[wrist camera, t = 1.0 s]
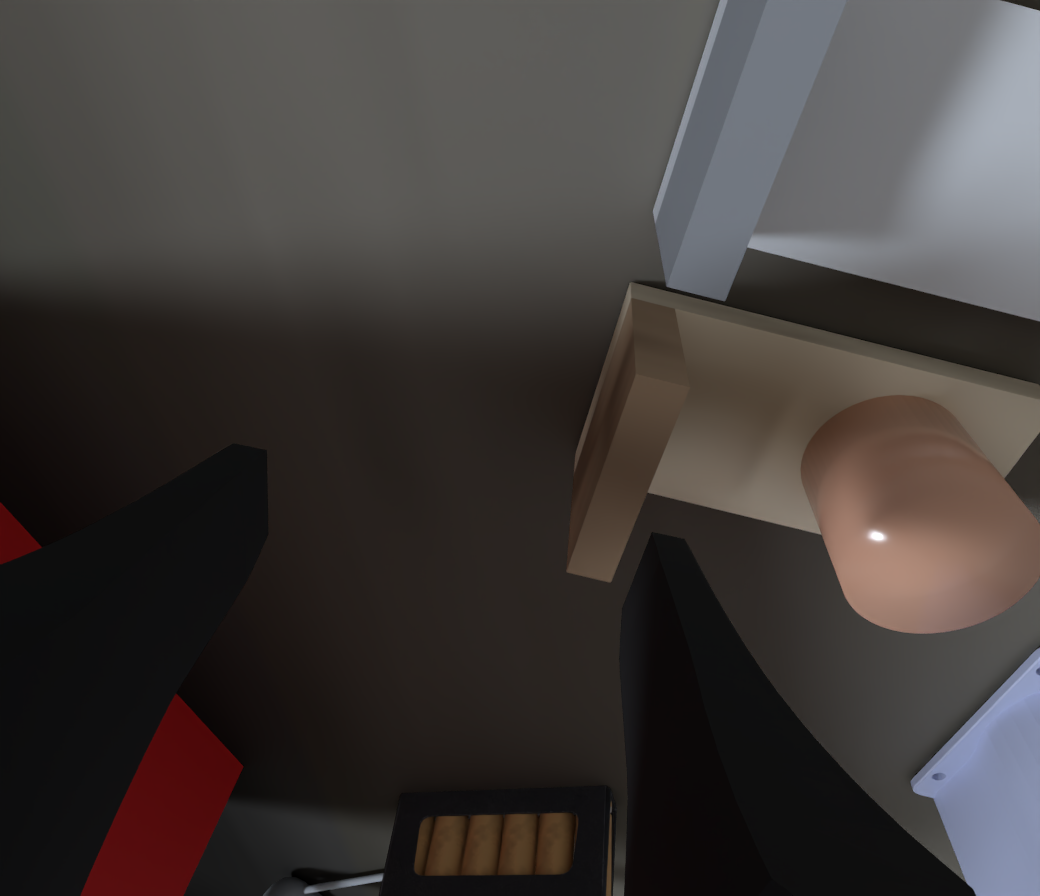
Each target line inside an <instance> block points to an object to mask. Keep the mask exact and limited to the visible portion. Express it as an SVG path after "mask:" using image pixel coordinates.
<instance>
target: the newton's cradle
mask: <svg viewBox="0 0 1040 896" xmlns="http://www.w3.org/2000/svg"><path fill="white" fill-rule="evenodd" d="M382 878H383V873H378V874H372V875H367V876H361V877H355V878H349V879H343V880H337V881H332V882H326V883H320V884H314V885H308V884H307V883H306V882H305V881H303V880H301V879H299V878H297V877H285V878H282V879H281V880H279V881H277V882H275V883H274V884H272V886H271V887H270V888H269V889H268V890H267V891H266V892H265V893H264V895H263V896H322V895H321V894H320V893H318V892H319V891H325V890H331V889H337V888H343V887H349V886H355V885H361V884H367V883H373V882H379V881H382Z"/></svg>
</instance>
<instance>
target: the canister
mask: <svg viewBox="0 0 1040 896" xmlns="http://www.w3.org/2000/svg"><path fill="white" fill-rule="evenodd" d="M800 470H801V480H802V485H803V487H804V490H805V493H806V495H807V498H808V500H809V503H810V506H811V508H812V511H813V514H814V516H815V519H816V522H817V524H818V527H819V529H820V532H821V535H822V537H823V540H824V543H825V545H826V548H827V550H828V553H829V556H830V558H831V561H832V564H833V566H834V569H835V572H836V574H837V577H838V579H839V582H840V585H841V587H842V590H843V592H844V595H845V597H846V599H847V601H848V602H849V604H850V605H851V607H852V608H853V609H854V610H855V611H856V612H857V613H858V614H860V615H861V616H862V617H864V618H865V619H867V620H868V621H870V622H872V623H874V624H876V625H879V626H881V627H884V628H887V629H890V630H894V631H899V632H905V633H916V634H930V633H942V632H948V631H954V630H959V629H963V628H967V627H970V626H973V625H976V624H979V623H981V622H984V621H986V620H988V619H991V618H993V617H995V616H996V615H998V614H1000V613H1002V612H1004V611H1005V610H1007V609H1008V608H1010V607H1011V606H1013V605H1014V604H1015V603H1017V602H1018V601H1019V600H1020V599H1022V598H1023V597H1024V596H1025V595H1026V594H1027V593H1028V592H1029V591H1030V589H1031V588H1032V587H1033V586H1034V584H1035V583H1036V582H1037V580H1038V578H1039V577H1040V524H1039V523H1038V521H1037V520H1036V518H1035V517H1034V516H1033V515H1032V513H1031V512H1030V511H1029V510H1028V508H1027V507H1026V506H1025V505H1024V503H1023V502H1022V501H1021V499H1020V498H1019V497H1018V496H1017V494H1016V493H1015V492H1014V491H1013V489H1012V488H1011V487H1010V486H1009V484H1008V483H1007V482H1006V480H1005V479H1004V478H1003V477H1002V475H1001V474H1000V473H999V472H998V470H997V469H996V468H995V467H994V465H993V464H992V463H991V461H990V460H989V459H988V458H987V456H986V455H985V454H984V453H983V451H982V450H981V449H980V448H979V446H978V445H977V444H976V442H975V441H974V440H973V439H972V437H971V436H970V435H969V434H968V432H967V431H966V430H965V429H964V427H963V426H962V425H961V424H960V422H959V421H958V420H957V418H956V417H955V416H954V415H953V414H952V413H951V412H950V411H949V410H947V409H946V408H944V407H943V406H941V405H939V404H937V403H935V402H933V401H931V400H928V399H924V398H921V397H915V396H907V395H890V396H883V397H877V398H873V399H869V400H865V401H862V402H860V403H857V404H854V405H852V406H850V407H848V408H846V409H844V410H842V411H841V412H839V413H838V414H836V415H834V416H833V417H832V418H831V419H829V420H828V421H827V422H826V423H825V424H823V425H822V426H821V427H820V428H819V429H818V431H817V432H816V433H815V434H814V435H813V437H812V438H811V440H810V441H809V443H808V445H807V447H806V449H805V451H804V454H803V457H802V461H801V469H800Z"/></svg>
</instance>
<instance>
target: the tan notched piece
mask: <svg viewBox="0 0 1040 896" xmlns="http://www.w3.org/2000/svg"><path fill="white" fill-rule="evenodd" d="M890 395H907V396H915V397H921V398H924V399H928V400H931V401H933V402H935V403H937V404H939V405H941V406H943V407H944V408H946V409H947V410H949V411H950V412H951V413H952V414H953V415H954V416H955V417H956V418H957V420H958V421H959V422H960V424H961V425H962V426H963V427H964V429H965V430H966V431H967V432H968V434H969V435H970V436H971V437H972V439H973V440H974V441H975V442H976V444H977V445H978V446H979V448H980V449H981V450H982V451H983V453H984V454H985V455H986V456H987V458H988V459H989V460H990V461H991V463H992V464H993V465H994V467H995V468H996V469H997V470H998V472H999V473H1000V474H1001V475H1002V477H1003V478H1005V477H1006V476H1007V474H1008V473H1009V472H1010V471H1011V469H1012V468H1013V467H1014V465H1015V464H1016V463H1017V461H1018V460H1019V459H1020V457H1021V456H1022V455H1023V453H1024V452H1025V451H1026V450H1027V448H1028V447H1029V446H1030V444H1031V443H1032V442H1033V440H1034V439H1035V438H1036V436H1037V435H1038V434H1039V432H1040V386H1039V385H1038V384H1035V383H1031V382H1027V381H1023V380H1019V379H1015V378H1011V377H1007V376H1003V375H999V374H995V373H991V372H987V371H983V370H979V369H975V368H971V367H967V366H963V365H959V364H955V363H952V362H948V361H944V360H940V359H936V358H932V357H928V356H924V355H920V354H916V353H912V352H908V351H904V350H900V349H896V348H892V347H888V346H884V345H880V344H876V343H872V342H868V341H864V340H860V339H856V338H852V337H848V336H844V335H840V334H836V333H832V332H828V331H824V330H820V329H816V328H812V327H808V326H804V325H800V324H796V323H792V322H788V321H784V320H780V319H776V318H772V317H768V316H764V315H760V314H756V313H752V312H748V311H744V310H740V309H736V308H732V307H728V306H724V305H720V304H716V303H712V302H708V301H704V300H700V299H696V298H692V297H688V296H684V295H680V294H676V293H672V292H668V291H665V290H661V289H657V288H653V287H649V286H645V285H641V284H637V283H633V282H630V284H629V287H628V290H627V293H626V297H625V300H624V303H623V306H622V309H621V312H620V315H619V318H618V322H617V325H616V328H615V331H614V334H613V337H612V340H611V343H610V347H609V350H608V353H607V356H606V359H605V362H604V365H603V369H602V372H601V375H600V378H599V381H598V384H597V387H596V390H595V394H594V397H593V400H592V403H591V406H590V409H589V412H588V415H587V419H586V422H585V425H584V428H583V431H582V434H581V437H580V441H579V444H578V447H577V450H576V453H575V465H574V478H573V491H572V504H571V517H570V530H569V543H568V556H567V569H566V572H568V573H572V574H576V575H580V576H584V577H589V578H593V579H597V580H601V581H605V582H610V583H611V581H612V579H613V576H614V574H615V571H616V569H617V566H618V564H619V561H620V559H621V556H622V554H623V551H624V549H625V547H626V544H627V542H628V539H629V537H630V534H631V532H632V529H633V527H634V524H635V522H636V519H637V517H638V515H639V512H640V510H641V507H642V505H643V502H644V500H645V497H646V495H647V493H651V494H656V495H660V496H664V497H668V498H672V499H676V500H680V501H685V502H689V503H693V504H697V505H701V506H705V507H709V508H713V509H718V510H722V511H726V512H730V513H734V514H738V515H742V516H747V517H751V518H755V519H759V520H763V521H767V522H771V523H775V524H780V525H784V526H788V527H792V528H796V529H800V530H804V531H808V532H813V533H817V534H821V532H820V529H819V527H818V524H817V522H816V519H815V516H814V514H813V511H812V508H811V506H810V503H809V500H808V498H807V495H806V493H805V490H804V487H803V485H802V480H801V470H800V469H801V461H802V457H803V454H804V451H805V449H806V447H807V445H808V443H809V441H810V440H811V438H812V437H813V435H814V434H815V433H816V432H817V431H818V429H819V428H820V427H821V426H822V425H823V424H825V423H826V422H827V421H828V420H829V419H831V418H832V417H833V416H834V415H836V414H838V413H839V412H841V411H842V410H844V409H846V408H848V407H850V406H852V405H854V404H857V403H860V402H862V401H865V400H869V399H873V398H877V397H883V396H890Z"/></svg>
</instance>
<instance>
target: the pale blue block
mask: <svg viewBox="0 0 1040 896" xmlns="http://www.w3.org/2000/svg"><path fill="white" fill-rule="evenodd" d="M653 215H654V220H655V226H656V231H657V237H658V242H659V248H660V253H661V259H662V264H663V270H664V275H665V281H666V286H667V287H669V288H673V289H677V290H681V291H685V292H689V293H693V294H697V295H701V296H705V297H709V298H713V299H717V300H721V301H725V300H726V298H727V295H728V293H729V291H730V288H731V286H732V283H733V281H734V278H735V276H736V273H737V271H738V268H739V266H740V263H741V261H742V259H743V256H744V254H745V251H746V249H747V247H748V248H752V249H756V250H760V251H764V252H768V253H772V254H776V255H780V256H784V257H788V258H792V259H796V260H799V261H803V262H807V263H811V264H815V265H819V266H823V267H827V268H831V269H835V270H839V271H843V272H847V273H851V274H855V275H859V276H863V277H866V278H870V279H874V280H878V281H882V282H886V283H890V284H894V285H898V286H902V287H906V288H910V289H914V290H918V291H922V292H926V293H930V294H934V295H937V296H941V297H945V298H949V299H953V300H957V301H961V302H965V303H969V304H973V305H977V306H981V307H985V308H989V309H993V310H997V311H1001V312H1004V313H1008V314H1012V315H1016V316H1020V317H1024V318H1028V319H1032V320H1036V321H1040V11H1039V10H1035V9H1031V8H1028V7H1024V6H1020V5H1016V4H1013V3H1009V2H1005V1H1001V0H720V2H719V6H718V9H717V12H716V15H715V18H714V21H713V24H712V27H711V31H710V34H709V37H708V40H707V43H706V46H705V49H704V52H703V56H702V59H701V62H700V65H699V68H698V71H697V74H696V78H695V81H694V84H693V87H692V90H691V93H690V96H689V99H688V103H687V106H686V109H685V112H684V115H683V118H682V121H681V124H680V128H679V131H678V134H677V137H676V140H675V143H674V146H673V149H672V153H671V156H670V159H669V162H668V165H667V168H666V171H665V175H664V178H663V181H662V184H661V187H660V190H659V193H658V196H657V200H656V203H655V206H654V209H653Z"/></svg>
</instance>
